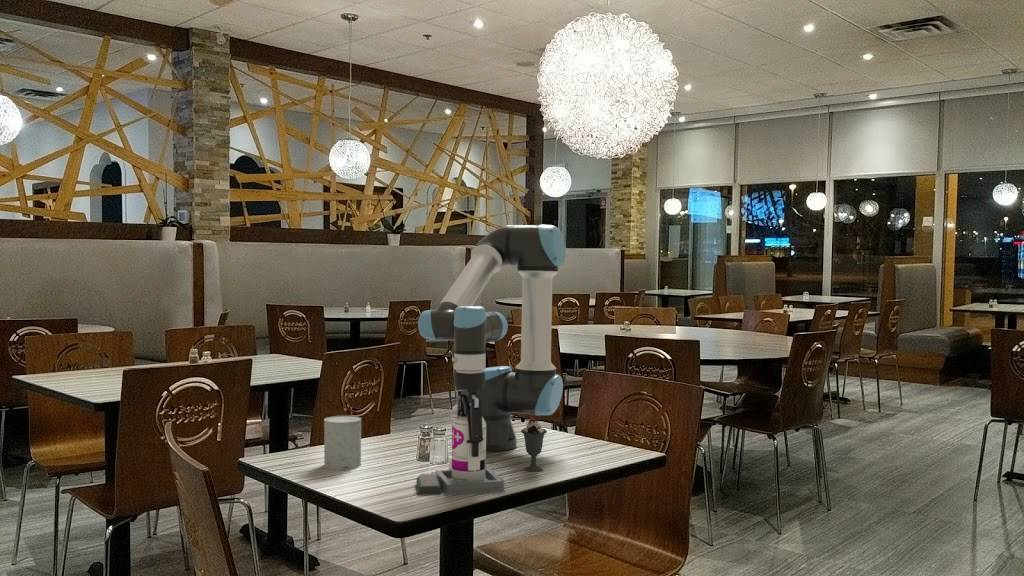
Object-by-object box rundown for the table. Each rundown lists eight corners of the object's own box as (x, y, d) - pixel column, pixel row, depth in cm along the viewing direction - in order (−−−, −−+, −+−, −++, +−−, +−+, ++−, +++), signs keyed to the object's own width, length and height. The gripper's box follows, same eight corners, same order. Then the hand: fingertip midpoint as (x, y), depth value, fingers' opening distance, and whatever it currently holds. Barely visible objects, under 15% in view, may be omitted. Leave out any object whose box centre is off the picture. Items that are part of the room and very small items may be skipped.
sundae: (532, 464, 216) (533, 408, 215) (551, 469, 211) (552, 412, 210) (515, 469, 211) (515, 411, 211) (533, 474, 206) (534, 415, 206)
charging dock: (483, 472, 207) (484, 452, 207) (504, 491, 190) (504, 470, 190) (431, 476, 203) (431, 456, 203) (447, 496, 186) (447, 474, 186)
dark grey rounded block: (418, 497, 186) (418, 485, 186) (415, 483, 198) (415, 472, 198) (441, 496, 187) (441, 484, 187) (437, 482, 199) (437, 471, 199)
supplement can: (458, 486, 190) (458, 422, 189) (446, 477, 197) (447, 416, 197) (490, 482, 193) (491, 420, 192) (478, 474, 200) (478, 413, 200)
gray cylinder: (352, 471, 207) (352, 423, 207) (317, 469, 209) (317, 421, 209) (366, 462, 217) (366, 416, 216) (333, 460, 219) (333, 414, 218)
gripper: (444, 365, 203) (443, 455, 204) (465, 377, 183) (464, 477, 183) (473, 364, 205) (472, 453, 206) (497, 376, 185) (496, 475, 186)
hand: (468, 464), depth 195 cm, fingers open, 9 cm apart
